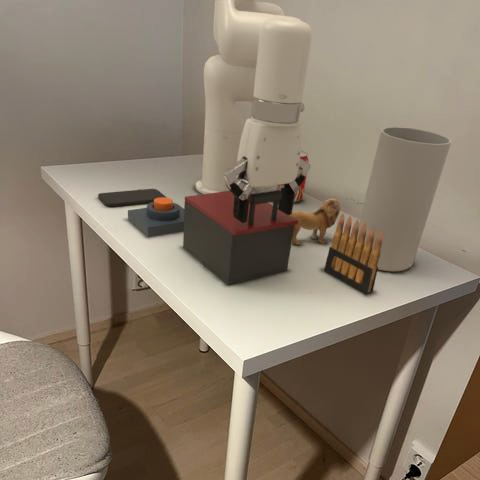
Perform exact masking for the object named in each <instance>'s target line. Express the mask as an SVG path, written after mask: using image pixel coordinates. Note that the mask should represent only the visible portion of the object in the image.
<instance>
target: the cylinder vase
mask: <svg viewBox="0 0 480 480" xmlns="http://www.w3.org/2000/svg"><path fill="white" fill-rule="evenodd" d="M451 145H452V140H451V138H449V137H447V136H445V135H443V134H439V133H437V132H432V131H430V130H424V129H419V128H411V127H404V126H403V127H402V126H387V127H383V128H382V129H381V130H380V134H379V138H378V142H377V147H376V150H375V155H374V159H373V162H372V166H371V167H372V168H371V172H370V174H369V175H370V176H369V180H368V184H367V188H366V192H365V197H364V200H363V205H362V210H361V213H360V218H359V231H358V237H359V233H360V231H361V228H362V226H363V225H364V223H366V226H367V231H366V237H365V243H366V240H367V237H368V234H369V232H370V230H371V228H372V227H374V229H375V235H374V240H373V246H372V250H373V247H374V244H375V241H376V238H377V236H378V234H379V232H380V231H381V230H382V232H383V240H382V245H381V250H380V257H379V261H378V265H377V267H378V270H379V271H383V272H403V271H406V270H408V269H410V268H411V267H412V266H413V264H414V262H415V260H416V259H415V258H416V256H417V253H418V249H419V246H420V243H421V240H422V236H423V233H424V230H425V228H426V224H427V220H428V217H429V215H430V212H431V208H432V205H433V202H434V199H435V195H436V192H437V189H438V186H439V183H440V180H441V176H442V173H443V171H444V167H445V164H446V160H447V157H448V153H449V151H450V148H451ZM358 237H357V240H358ZM365 243H364V246H365Z"/></svg>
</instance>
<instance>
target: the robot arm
mask: <svg viewBox="0 0 480 480" xmlns="http://www.w3.org/2000/svg"><path fill="white" fill-rule="evenodd" d="M213 9H214V10H213V25H212V26H213V29H212V31H213V39H214V41H215V44H217V48H218V52H219V53H218V54H216V55H212V56H210V57H209V58H208V59H207V60H206V61H205V64H204V66H203V85H204V102H205V106H204V107H205V112H204V134H203V135H204V136H203V152H202V153H203V154H202V155H203V156H202V169H201V170H202V171H201V172H202V173H201V174H202V175H201V179H199V180H198V181H196V182H195V190H196V191H197V192H199V193H200V194H209V193H217V192H224V191H231V193H232V194H233V195H234V207H233V216H234V218H236V219H237V220H239V221H240V222H242V223H246V222H247V216H248V207H249V200H247V199H246V198H247V196H248V195H249V194H250V193H252V191H253V190H254V188H255V189H257V188H266V187H273V186H278V185H281V184H283V186H284V188H281V190H280V191H281V193H282V199H281V200H280V201H279V203H278V209H279V210H280V211H282V212H283V213H285V214H287V215H291V214H292V212H293V208H294V203H295V202H294V196H295V193H296V192H298V190H299V186H300V185H301V184H302V183H303V181H304V180H305V176H306V174H307V175H308V172H309V170H310V169H311V164H308V163H307V162H305V161H304V160H302V159H301V158H300V152H301V151H302V122H301V121H300V116H301V113H304V111H305V104H304V103H303V99H304V98H303V96H304V91H305V83H306V77H307V70H308V65H309V64H308V63H309V57H310V51H311V43H312V38H313V37H312V36H313V33H312V28H311V25H309V24H308V23H307V22H305V21H302V19H300V18H297V17H295V16H290V15H285V12H284V10H283V9H282V7H281V6H279V5H278V4H275V3H271V2H265V1H257V0H214V8H213ZM236 102H251V103H252V104H251V105H252V107H251V116H250V118H246V119H245V122H244V118H243V114H242V113H241V111H240V110H239V108H238V107H237V105H236V104H235V103H236ZM242 189H243V190H242ZM293 202H294V203H293Z"/></svg>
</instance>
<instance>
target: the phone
mask: <svg viewBox="0 0 480 480" xmlns="http://www.w3.org/2000/svg"><path fill="white" fill-rule="evenodd" d="M97 197H98V199H99V200H100V202H102V203H103V205H104V206H106V207H121V206H129V205H140V204H149V203H151V202H154V199H156V198H160V197H164V198H167V196H166V195H164V194H163V193H162V192H161V191H160V190H158V189H157V188H146V189H145V188H144V189H143V188H142V189H133V190H122V191H121V190H120V191H110V192H100V193H98V194H97Z"/></svg>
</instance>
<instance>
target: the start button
mask: <svg viewBox="0 0 480 480" xmlns="http://www.w3.org/2000/svg"><path fill="white" fill-rule="evenodd" d="M173 203H174V201H173V199H172V198H169V197H166V198H164V197H160V198H156V199H154V209H156V210H160V211H169V210H172V209H173Z"/></svg>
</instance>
